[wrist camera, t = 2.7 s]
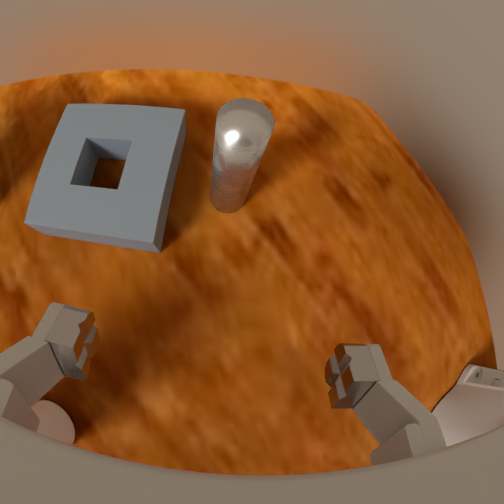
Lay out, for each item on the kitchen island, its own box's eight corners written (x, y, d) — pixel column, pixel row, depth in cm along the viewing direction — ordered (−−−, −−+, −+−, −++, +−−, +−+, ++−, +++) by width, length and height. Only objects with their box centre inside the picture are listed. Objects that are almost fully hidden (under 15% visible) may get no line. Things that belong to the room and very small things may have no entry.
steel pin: (247, 183, 28) (276, 104, 16) (242, 215, 27) (271, 148, 16) (213, 177, 27) (221, 94, 16) (207, 210, 27) (211, 138, 15)
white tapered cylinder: (63, 465, 20) (-7, 542, 5) (16, 415, 20) (-76, 462, 5) (96, 430, 21) (21, 514, 7) (45, 377, 22) (-62, 416, 7)
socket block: (186, 133, 28) (185, 109, 24) (160, 253, 25) (153, 243, 22) (79, 125, 26) (67, 103, 23) (44, 234, 24) (24, 223, 20)
